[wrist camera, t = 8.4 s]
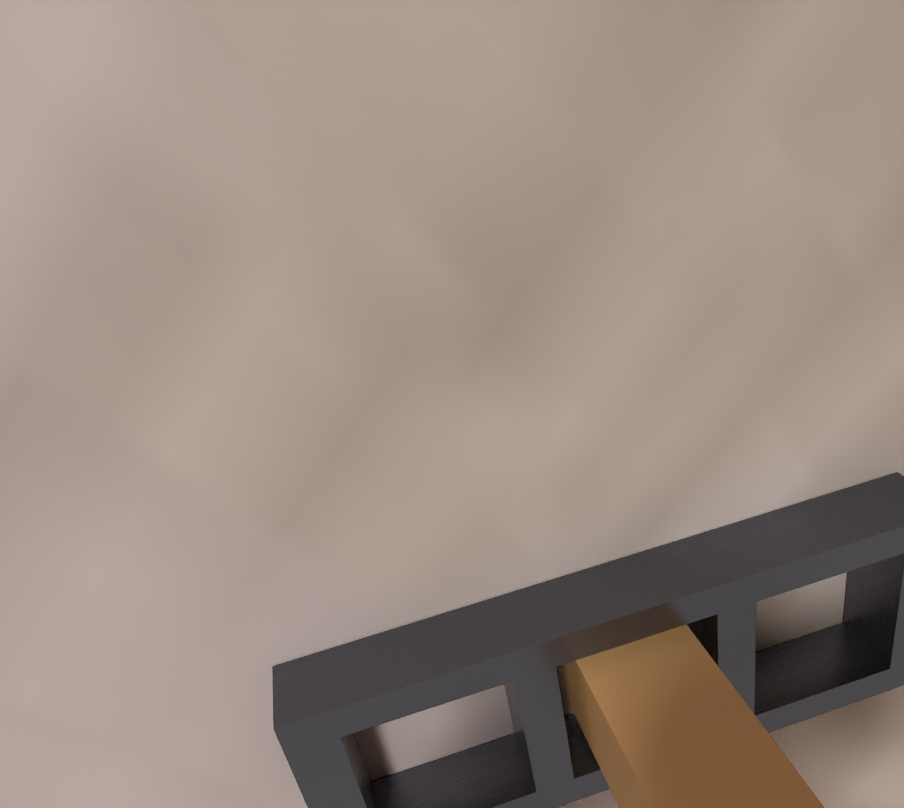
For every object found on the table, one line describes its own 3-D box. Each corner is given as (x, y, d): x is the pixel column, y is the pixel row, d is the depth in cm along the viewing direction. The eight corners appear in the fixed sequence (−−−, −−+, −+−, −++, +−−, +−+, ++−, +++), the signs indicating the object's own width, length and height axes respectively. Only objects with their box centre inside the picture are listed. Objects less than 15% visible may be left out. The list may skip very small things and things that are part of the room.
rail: (897, 472, 26) (955, 509, 24) (877, 631, 30) (925, 677, 28) (272, 666, 24) (273, 729, 21) (334, 816, 27) (341, 883, 25)
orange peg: (659, 588, 26) (832, 818, 18) (664, 667, 28) (822, 905, 20) (555, 621, 26) (686, 872, 18) (567, 699, 28) (690, 957, 20)
